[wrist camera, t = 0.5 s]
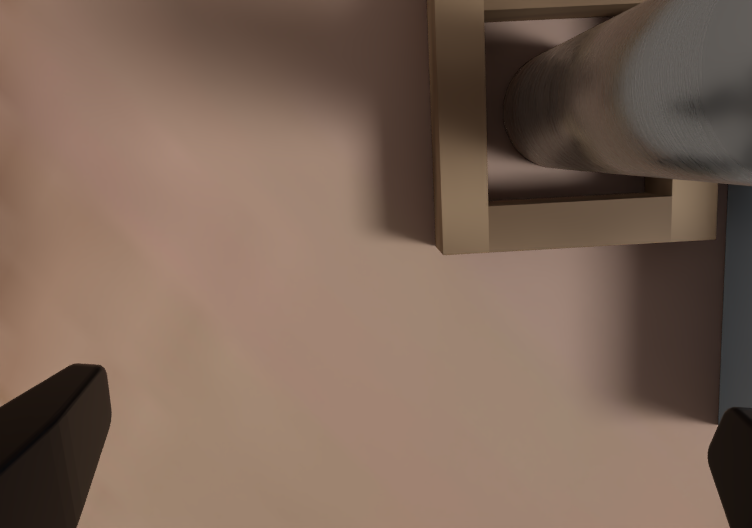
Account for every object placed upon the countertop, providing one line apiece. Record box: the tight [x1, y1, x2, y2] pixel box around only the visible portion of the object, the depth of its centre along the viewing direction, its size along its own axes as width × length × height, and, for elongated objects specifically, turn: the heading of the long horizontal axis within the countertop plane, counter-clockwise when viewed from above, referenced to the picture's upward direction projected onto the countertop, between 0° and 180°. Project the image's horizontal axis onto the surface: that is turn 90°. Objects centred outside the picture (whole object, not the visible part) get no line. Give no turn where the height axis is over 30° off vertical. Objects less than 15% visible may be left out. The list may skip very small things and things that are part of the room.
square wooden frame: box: [427, 0, 718, 255], centre depth 22 cm, size 9×9×2 cm
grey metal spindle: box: [503, 0, 752, 186], centre depth 16 cm, size 4×4×13 cm
